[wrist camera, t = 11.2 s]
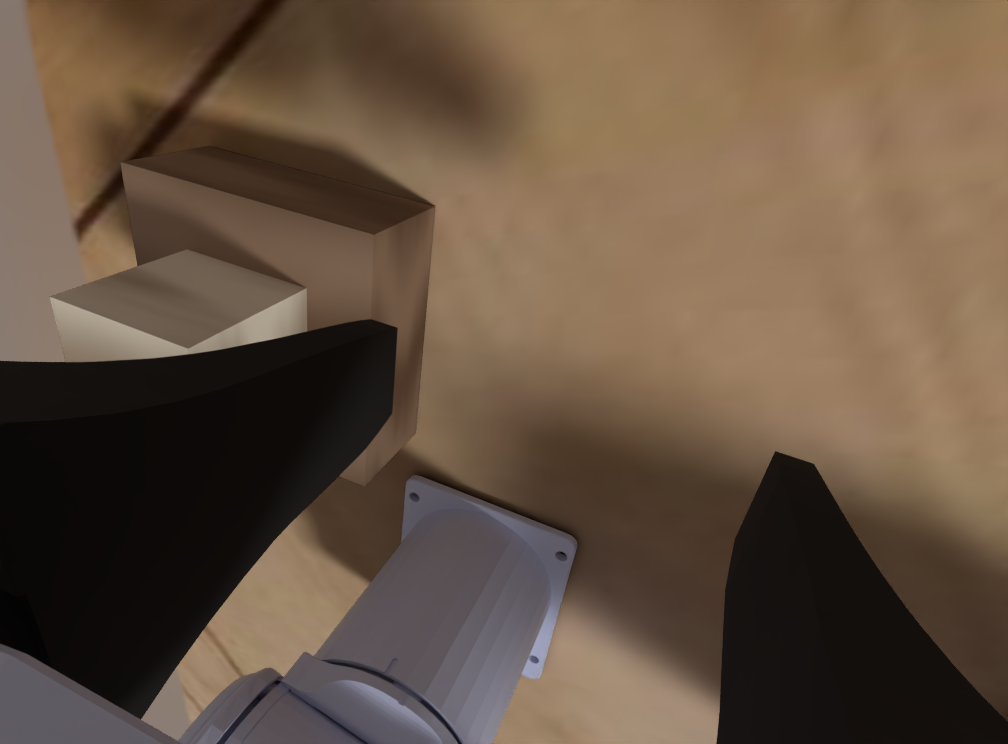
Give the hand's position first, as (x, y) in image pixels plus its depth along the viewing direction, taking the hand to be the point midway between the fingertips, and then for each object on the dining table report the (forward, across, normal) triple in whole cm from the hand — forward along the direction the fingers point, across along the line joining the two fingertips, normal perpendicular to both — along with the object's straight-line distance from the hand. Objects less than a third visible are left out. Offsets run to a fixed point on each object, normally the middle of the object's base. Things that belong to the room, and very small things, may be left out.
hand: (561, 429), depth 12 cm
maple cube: (+6, +13, +5) cm, 15 cm away
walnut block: (+10, +13, +5) cm, 17 cm away
